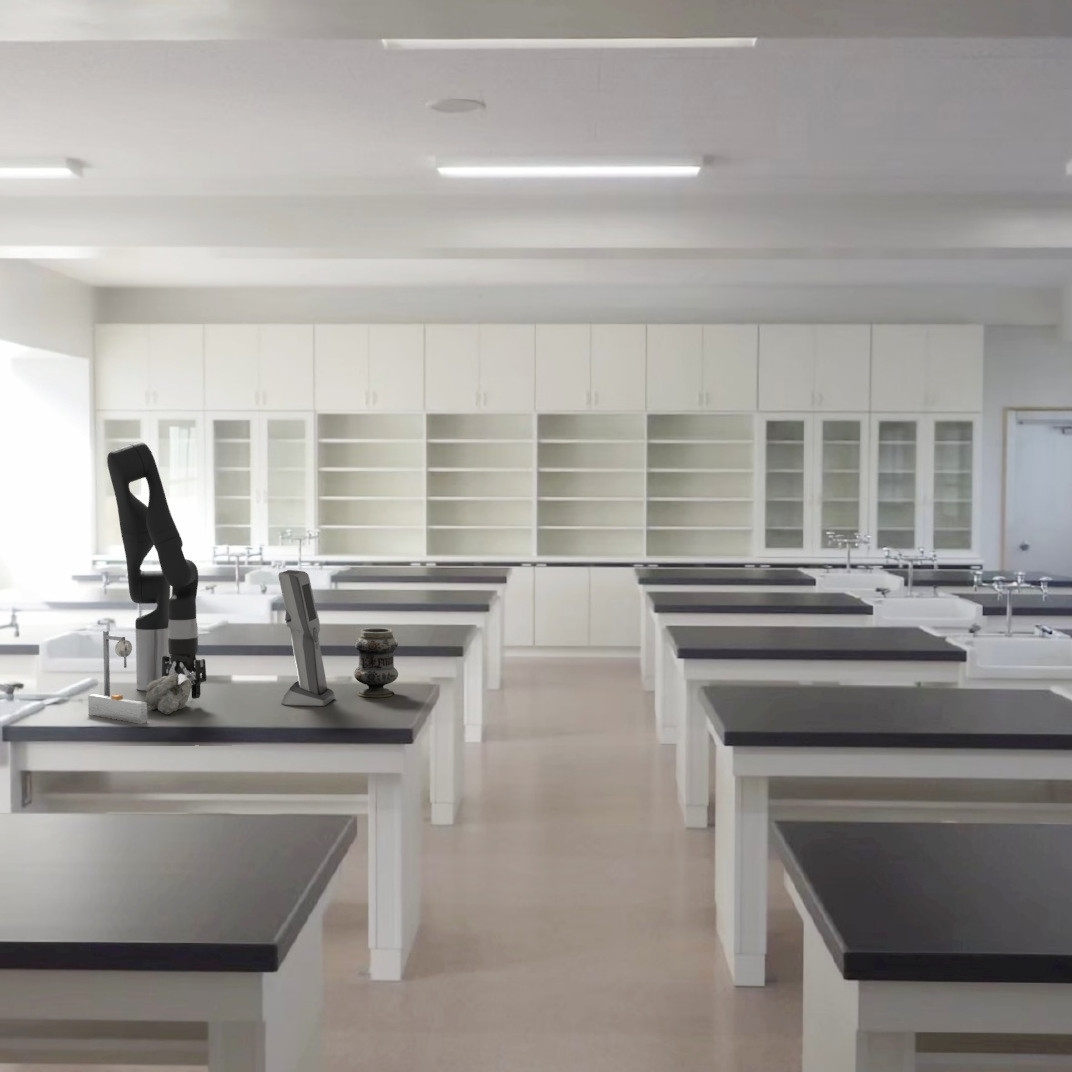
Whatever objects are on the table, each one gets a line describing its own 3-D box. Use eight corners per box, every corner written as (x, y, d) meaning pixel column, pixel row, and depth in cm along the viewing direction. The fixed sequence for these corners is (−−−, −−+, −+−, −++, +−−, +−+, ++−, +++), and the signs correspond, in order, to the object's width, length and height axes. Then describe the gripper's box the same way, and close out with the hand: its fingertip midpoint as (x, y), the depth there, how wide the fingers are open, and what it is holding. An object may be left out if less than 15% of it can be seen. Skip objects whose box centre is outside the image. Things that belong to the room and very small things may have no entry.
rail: (94, 713, 323) (94, 690, 322) (147, 722, 312) (146, 699, 311) (88, 714, 321) (88, 692, 321) (140, 724, 310) (140, 700, 310)
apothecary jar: (395, 698, 342) (394, 632, 341) (350, 698, 343) (350, 632, 342) (400, 690, 355) (400, 626, 353) (358, 690, 355) (357, 626, 354)
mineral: (201, 693, 337) (182, 661, 336) (198, 702, 320) (178, 668, 319) (159, 717, 334) (140, 685, 333) (154, 728, 318) (134, 693, 316)
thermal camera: (290, 697, 344) (288, 569, 342) (336, 698, 343) (335, 569, 341) (277, 705, 333) (275, 573, 331) (325, 706, 332) (323, 573, 329)
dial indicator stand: (109, 701, 338) (107, 628, 337) (136, 705, 332) (134, 632, 331) (90, 704, 333) (88, 631, 332) (117, 709, 327) (115, 634, 326)
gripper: (212, 635, 332) (214, 697, 333) (175, 632, 340) (176, 691, 341) (190, 639, 326) (192, 701, 327) (153, 635, 333) (154, 696, 334)
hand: (184, 696), depth 334 cm, fingers open, 8 cm apart
